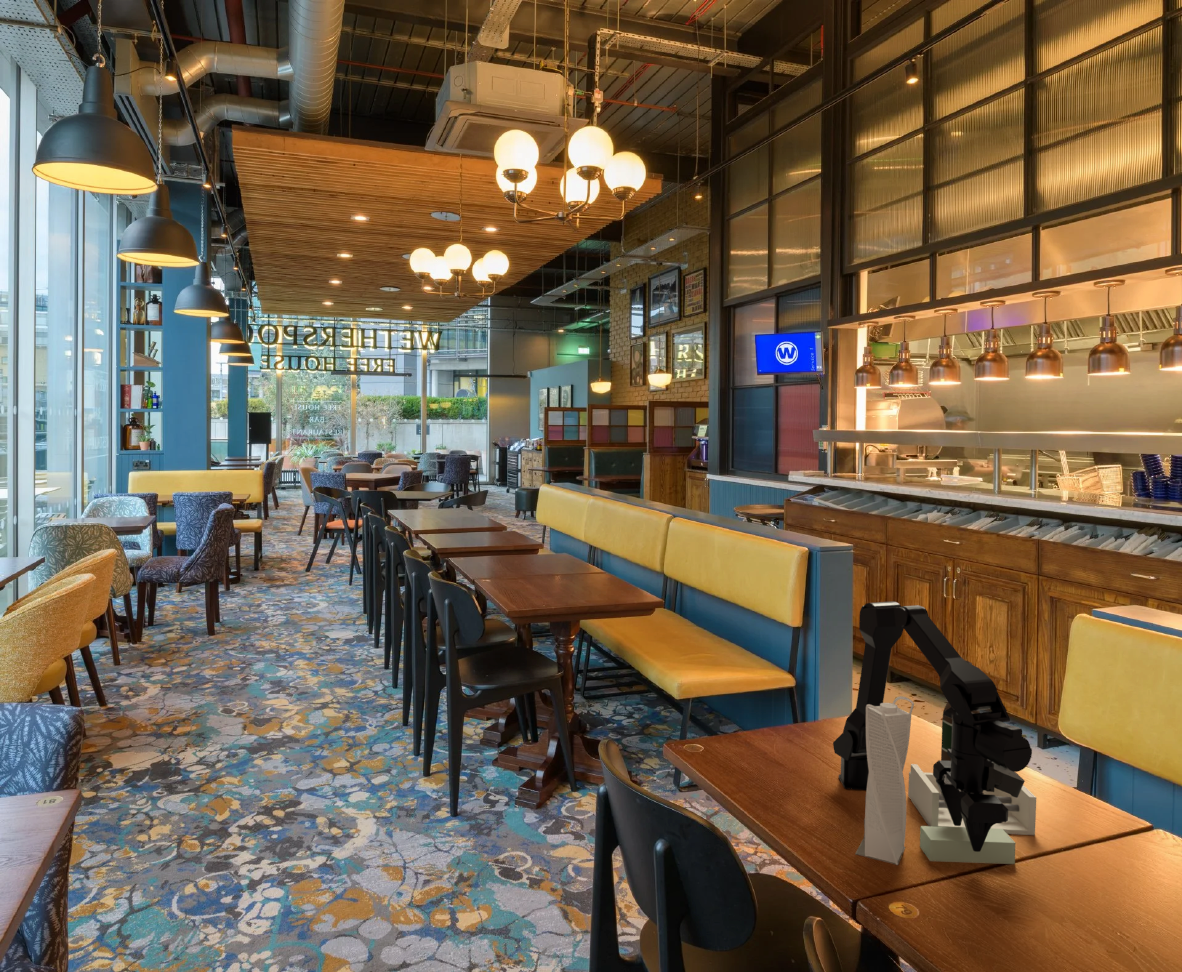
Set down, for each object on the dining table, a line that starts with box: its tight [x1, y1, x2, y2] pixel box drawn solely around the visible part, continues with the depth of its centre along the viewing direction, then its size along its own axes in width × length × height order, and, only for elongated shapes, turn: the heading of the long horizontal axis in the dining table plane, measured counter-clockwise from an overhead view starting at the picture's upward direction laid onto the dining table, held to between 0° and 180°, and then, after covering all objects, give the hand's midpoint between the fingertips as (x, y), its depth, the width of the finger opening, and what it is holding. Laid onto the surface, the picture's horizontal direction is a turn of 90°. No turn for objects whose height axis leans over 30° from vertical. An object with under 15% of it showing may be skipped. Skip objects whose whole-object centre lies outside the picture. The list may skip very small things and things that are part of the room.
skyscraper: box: [855, 695, 915, 866], centre depth 140 cm, size 8×8×28 cm
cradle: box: [907, 763, 1037, 836], centre depth 155 cm, size 18×14×7 cm
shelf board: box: [919, 825, 1016, 865], centre depth 140 cm, size 14×5×4 cm, turn 87°
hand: (966, 837), depth 140 cm, fingers open, 9 cm apart
